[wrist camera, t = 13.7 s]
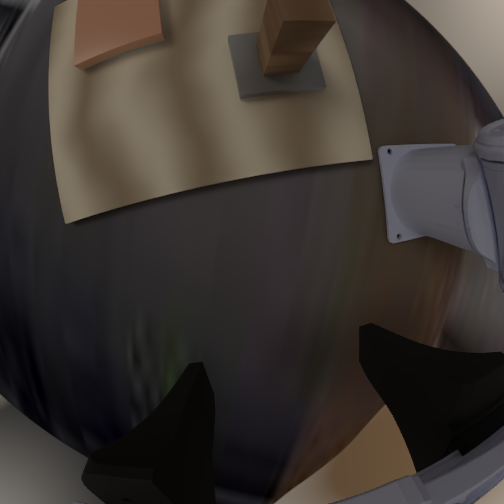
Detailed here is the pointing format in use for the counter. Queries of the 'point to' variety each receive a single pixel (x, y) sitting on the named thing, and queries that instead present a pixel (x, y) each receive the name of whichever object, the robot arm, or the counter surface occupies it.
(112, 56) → the tile
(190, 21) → the board
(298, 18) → the wooden post on base
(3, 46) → the counter surface
